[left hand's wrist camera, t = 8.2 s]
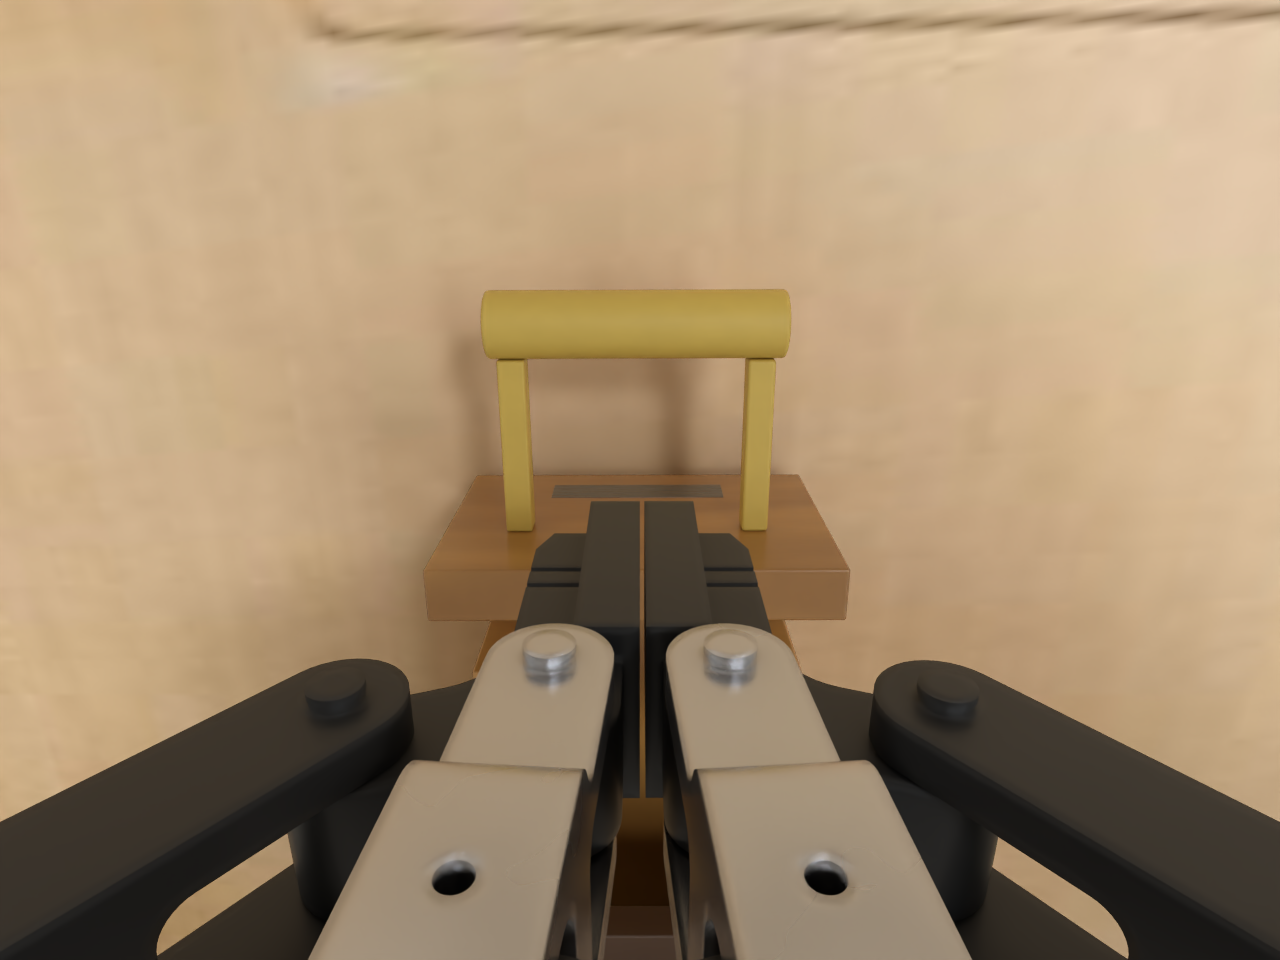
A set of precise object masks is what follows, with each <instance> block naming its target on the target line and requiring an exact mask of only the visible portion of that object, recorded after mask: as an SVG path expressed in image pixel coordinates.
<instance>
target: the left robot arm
mask: <svg viewBox="0 0 1280 960" xmlns="http://www.w3.org/2000/svg"><path fill="white" fill-rule="evenodd" d="M644 680H645V794H646V798H663V810H664V841H663V856H664V865H665V873H666V881H667V888H668V896H669V904H670V912H671V920H672V927H673V935H674V943H675V951H676V958H677V960H1280V822H1279V821H1277V820H1275V819H1273V818H1271V817H1269V816H1267V815H1265V814H1263V813H1261V812H1259V811H1256V810H1254V809H1252V808H1250V807H1248V806H1246V805H1244V804H1242V803H1240V802H1238V801H1236V800H1234V799H1232V798H1230V797H1228V796H1226V795H1224V794H1222V793H1220V792H1218V791H1216V790H1214V789H1212V788H1210V787H1208V786H1206V785H1204V784H1202V783H1200V782H1198V781H1196V780H1194V779H1192V778H1190V777H1188V776H1186V775H1184V774H1182V773H1180V772H1178V771H1176V770H1174V769H1172V768H1170V767H1168V766H1166V765H1164V764H1162V763H1160V762H1158V761H1156V760H1154V759H1152V758H1150V757H1148V756H1146V755H1144V754H1142V753H1140V752H1138V751H1136V750H1134V749H1132V748H1130V747H1128V746H1126V745H1124V744H1122V743H1120V742H1118V741H1116V740H1114V739H1112V738H1110V737H1108V736H1106V735H1104V734H1102V733H1100V732H1098V731H1096V730H1094V729H1092V728H1090V727H1088V726H1086V725H1084V724H1082V723H1080V722H1078V721H1076V720H1074V719H1072V718H1070V717H1068V716H1066V715H1064V714H1062V713H1060V712H1058V711H1056V710H1054V709H1052V708H1050V707H1048V706H1046V705H1044V704H1042V703H1040V702H1038V701H1036V700H1034V699H1032V698H1030V697H1028V696H1026V695H1024V694H1022V693H1020V692H1018V691H1016V690H1014V689H1012V688H1010V687H1008V686H1006V685H1004V684H1002V683H1000V682H998V681H996V680H994V679H992V678H990V677H988V676H986V675H984V674H981V673H979V672H977V671H975V670H972V669H969V668H966V667H963V666H960V665H956V664H952V663H947V662H940V661H929V660H920V661H909V662H903V663H900V664H896V665H894V666H891V667H889V668H887V669H886V670H885V671H883V672H882V673H881V674H880V675H879V676H878V678H877V679H876V682H875V684H874V692H873V694H870V693H865V692H861V691H856V690H851V689H846V688H841V687H837V686H833V685H828V684H825V683H822V682H820V681H817V680H814V679H812V678H810V677H808V676H806V675H804V674H802V673H801V670H800V668H799V666H798V664H797V661H796V659H795V657H794V655H793V653H792V651H791V650H790V648H789V647H788V646H787V645H786V644H785V643H784V642H783V641H782V640H780V639H779V638H778V637H776V636H774V635H772V632H771V628H770V625H769V621H768V618H767V614H766V610H765V607H764V603H763V599H762V596H761V592H760V589H759V587H758V581H757V578H756V574H755V571H754V567H753V563H752V560H751V556H750V553H749V549H748V548H747V547H745V546H744V545H743V544H742V543H741V542H740V541H738V540H737V539H736V538H735V537H734V536H732V535H731V534H730V533H698V528H697V521H696V515H695V508H694V502H693V501H644ZM623 798H640V501H591V504H590V511H589V518H588V525H587V532H586V533H554V534H553V535H552V536H551V537H550V538H549V539H547V540H546V541H545V542H544V543H543V544H541V545H540V546H539V547H538V548H537V549H536V551H535V555H534V558H533V562H532V566H531V571H530V573H529V577H528V581H527V587H526V589H525V592H524V596H523V600H522V604H521V607H520V611H519V615H518V619H517V622H516V626H515V630H514V632H512V633H510V634H508V635H506V636H504V637H502V638H501V639H500V640H498V641H497V642H496V643H495V644H494V645H493V646H492V647H491V648H490V650H489V651H488V653H487V655H486V657H485V659H484V661H483V664H482V666H481V668H480V670H479V673H478V675H477V677H476V678H474V679H472V680H470V681H467V682H464V683H461V684H458V685H455V686H451V687H447V688H442V689H437V690H432V691H427V692H422V693H417V694H412V695H410V690H409V682H408V680H407V678H406V676H405V675H404V673H403V672H402V671H401V670H399V669H398V668H397V667H395V666H393V665H391V664H389V663H386V662H382V661H378V660H371V659H346V660H339V661H333V662H329V663H325V664H321V665H318V666H315V667H312V668H310V669H307V670H305V671H303V672H300V673H298V674H296V675H294V676H292V677H290V678H288V679H286V680H284V681H282V682H280V683H278V684H276V685H274V686H272V687H270V688H268V689H266V690H264V691H262V692H260V693H258V694H256V695H254V696H252V697H250V698H248V699H246V700H244V701H242V702H240V703H238V704H236V705H234V706H232V707H230V708H228V709H226V710H224V711H222V712H220V713H218V714H216V715H214V716H212V717H210V718H208V719H206V720H204V721H202V722H200V723H198V724H196V725H194V726H192V727H190V728H188V729H186V730H184V731H182V732H180V733H178V734H176V735H174V736H172V737H170V738H168V739H166V740H164V741H162V742H160V743H158V744H156V745H154V746H152V747H150V748H148V749H146V750H144V751H142V752H140V753H138V754H136V755H134V756H132V757H130V758H128V759H126V760H124V761H122V762H120V763H118V764H116V765H114V766H112V767H110V768H108V769H106V770H104V771H102V772H100V773H98V774H96V775H94V776H92V777H90V778H88V779H86V780H84V781H82V782H80V783H78V784H76V785H74V786H72V787H70V788H68V789H66V790H64V791H62V792H60V793H58V794H56V795H54V796H52V797H50V798H48V799H46V800H44V801H42V802H40V803H38V804H36V805H34V806H32V807H30V808H28V809H26V810H24V811H22V812H20V813H18V814H16V815H14V816H12V817H9V818H7V819H5V820H3V821H1V822H0V960H603V958H604V951H605V943H606V935H607V927H608V920H609V912H610V904H611V896H612V888H613V881H614V873H615V865H616V856H617V841H616V835H617V833H618V831H619V828H620V826H621V821H622V803H623ZM287 833H288V838H289V843H290V848H291V853H292V858H293V863H294V864H292V865H291V866H289V867H288V868H286V869H285V870H283V871H282V872H280V873H279V874H277V875H276V876H274V877H273V878H272V879H270V880H269V881H267V882H266V883H264V884H263V885H261V886H260V887H258V888H257V889H255V890H254V891H252V892H251V893H249V894H248V895H246V896H245V897H244V898H242V899H241V900H239V901H238V902H236V903H235V904H233V905H232V906H230V907H229V908H227V909H226V910H224V911H223V912H221V913H220V914H219V915H217V916H216V917H214V918H213V919H211V920H210V921H208V922H207V923H205V924H204V925H202V926H201V927H199V928H198V929H196V930H195V931H194V932H192V933H191V934H189V935H188V936H186V937H185V938H183V939H182V940H180V941H179V942H177V943H176V944H174V945H173V946H171V947H170V948H168V949H167V950H166V951H164V952H163V953H161V954H159V955H158V956H157V953H156V949H157V942H158V938H159V935H160V933H161V930H162V928H163V926H164V925H165V923H166V921H167V920H168V918H169V917H170V916H171V914H172V913H173V912H174V911H175V910H176V909H177V908H178V906H179V905H180V904H182V903H183V902H184V901H185V900H186V899H187V898H189V897H190V896H191V895H193V894H194V893H195V892H197V891H199V890H200V889H202V888H203V887H205V886H206V885H208V884H209V883H211V882H213V881H214V880H216V879H217V878H219V877H220V876H222V875H223V874H225V873H226V872H228V871H230V870H231V869H233V868H234V867H236V866H237V865H239V864H240V863H242V862H243V861H245V860H247V859H248V858H250V857H251V856H253V855H254V854H256V853H257V852H259V851H260V850H262V849H264V848H265V847H267V846H268V845H270V844H271V843H273V842H274V841H276V840H277V839H279V838H281V837H282V836H284V835H285V834H287ZM998 837H999V838H1001V839H1003V840H1004V841H1006V842H1007V843H1009V844H1010V845H1012V846H1013V847H1015V848H1016V849H1018V850H1020V851H1021V852H1023V853H1024V854H1026V855H1027V856H1029V857H1030V858H1032V859H1033V860H1035V861H1037V862H1038V863H1040V864H1041V865H1043V866H1044V867H1046V868H1047V869H1049V870H1051V871H1052V872H1054V873H1055V874H1057V875H1058V876H1060V877H1061V878H1063V879H1064V880H1066V881H1068V882H1069V883H1071V884H1072V885H1074V886H1075V887H1077V888H1078V889H1080V890H1081V891H1083V892H1085V893H1086V894H1088V895H1089V896H1091V897H1092V898H1093V899H1095V900H1096V901H1098V902H1099V903H1100V904H1101V905H1102V906H1103V907H1104V908H1105V909H1106V910H1107V911H1108V912H1109V913H1110V914H1111V915H1112V916H1113V918H1114V919H1115V920H1116V922H1117V923H1118V924H1119V926H1120V928H1121V930H1122V931H1123V933H1124V936H1125V938H1126V941H1127V945H1128V950H1129V957H1128V959H1127V958H1125V957H1124V956H1122V955H1120V954H1119V953H1117V952H1116V951H1114V950H1113V949H1112V948H1110V947H1109V946H1107V945H1106V944H1104V943H1103V942H1101V941H1100V940H1098V939H1097V938H1095V937H1094V936H1092V935H1091V934H1089V933H1088V932H1087V931H1085V930H1084V929H1082V928H1081V927H1079V926H1078V925H1076V924H1075V923H1073V922H1072V921H1070V920H1069V919H1067V918H1066V917H1064V916H1063V915H1061V914H1060V913H1059V912H1057V911H1056V910H1054V909H1053V908H1051V907H1050V906H1048V905H1047V904H1045V903H1044V902H1042V901H1041V900H1039V899H1038V898H1036V897H1035V896H1034V895H1032V894H1031V893H1029V892H1028V891H1026V890H1025V889H1023V888H1022V887H1020V886H1019V885H1017V884H1016V883H1014V882H1013V881H1011V880H1010V879H1009V878H1007V877H1006V876H1004V875H1003V874H1001V873H1000V872H998V871H997V870H995V869H994V868H992V865H993V860H994V855H995V850H996V845H997V840H998Z"/></svg>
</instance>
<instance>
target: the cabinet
mask: <svg viewBox="0 0 1280 960" xmlns="http://www.w3.org/2000/svg"><path fill="white" fill-rule="evenodd" d="M603 960H677V958H676V951H675V943H674V935H673V927H672V920H671V912H670V906H610V912H609V920H608V927H607V935H606V943H605V951H604V958H603Z"/></svg>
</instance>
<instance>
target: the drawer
mask: <svg viewBox="0 0 1280 960" xmlns="http://www.w3.org/2000/svg"><path fill="white" fill-rule="evenodd" d="M790 333H791V305H790V298H789V295H788V292H787V291H786V290H784V289H759V290H488V291H486V292H485V293H484V295H483V299H482V304H481V335H482V342H483V347H484V351H485V354H486V356H487V357H488V358H490V359H498V361H497V363H496V366H497V382H498V398H499V414H500V429H501V445H502V461H503V476H477V477H476V479H475V480H474V482H473V484H472V486H471V488H470V489H469V491H468V493H467V495H466V496H465V498H464V500H463V502H462V503H461V505H460V507H459V509H458V511H457V512H456V514H455V516H454V518H453V519H452V521H451V523H450V525H449V526H448V528H447V530H446V532H445V534H444V535H443V537H442V539H441V541H440V542H439V544H438V546H437V548H436V549H435V551H434V553H433V555H432V557H431V558H430V560H429V562H428V564H427V565H426V567H425V569H424V571H423V575H424V584H425V594H426V604H427V614H428V620H430V621H490V623H489V626H488V629H487V632H486V635H485V638H484V641H483V644H482V646H481V649H480V652H479V655H478V658H477V661H476V664H475V667H474V670H473V672H472V673H473V679H474V678H476V677H477V675H478V673H479V670H480V668H481V666H482V664H483V661H484V659H485V657H486V655H487V653H488V651H489V650H490V648H491V647H492V646H493V645H494V644H495V643H496V642H497V641H498V640H500V639H501V638H502V637H504V636H506V635H508V634H510V633H512V632H514V630H515V626H516V622H517V619H518V615H519V611H520V607H521V604H522V600H523V596H524V592H525V589H526V587H527V581H528V577H529V573H530V571H531V566H532V562H533V558H534V555H535V551H536V549H537V548H538V547H539V546H540V545H541V544H543V543H544V542H545V541H546V540H547V539H549V538H550V537H551V536H552V535H553V534H554V533H586V532H587V525H588V518H589V511H590V504H591V501H640V798H623V803H622V821H621V826H620V828H619V831H618V833H617V835H616V841H617V856H616V865H615V873H614V881H613V888H612V896H611V904H610V906H670V904H669V896H668V888H667V881H666V873H665V865H664V856H663V841H664V810H663V798H646V794H645V680H644V501H693V502H694V508H695V515H696V521H697V528H698V533H730V534H731V535H732V536H734V537H735V538H736V539H737V540H738V541H740V542H741V543H742V544H743V545H744V546H745V547H747V548H748V549H749V553H750V556H751V560H752V563H753V567H754V571H755V574H756V578H757V581H758V587H759V589H760V592H761V596H762V599H763V603H764V607H765V610H766V614H767V618H768V621H769V625H770V628H771V632H772V635H774V636H776V637H778V638H779V639H780V640H782V641H783V642H784V643H785V644H786V645H787V646H788V647H789V648H790V650H791V651H792V653H793V655H794V657H795V659H796V661H797V664H798V666H799V663H798V660H797V657H796V653H795V650H794V647H793V644H792V641H791V638H790V635H789V632H788V629H787V626H786V623H785V620H845V618H846V611H847V600H848V589H849V578H850V569H849V567H848V565H847V563H846V562H845V560H844V558H843V556H842V554H841V552H840V551H839V549H838V547H837V545H836V543H835V541H834V539H833V538H832V536H831V534H830V532H829V530H828V528H827V527H826V525H825V523H824V521H823V519H822V517H821V515H820V514H819V512H818V510H817V508H816V506H815V504H814V503H813V501H812V499H811V497H810V495H809V493H808V491H807V490H806V488H805V486H804V484H803V482H802V480H801V479H800V477H799V475H770V467H771V448H772V429H773V410H774V391H775V372H776V362H775V360H774V358H783V357H785V356H786V353H787V351H788V347H789V342H790ZM595 358H746V359H745V384H744V409H743V434H742V459H741V475H533V464H532V444H531V424H530V404H529V384H528V364H527V359H595ZM799 668H800V666H799ZM800 670H801V669H800ZM801 673H802V672H801Z"/></svg>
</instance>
